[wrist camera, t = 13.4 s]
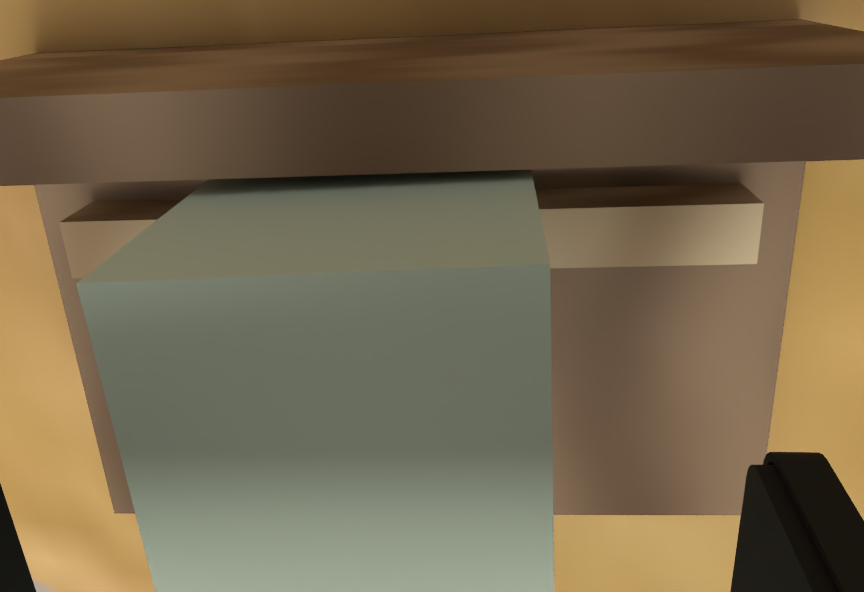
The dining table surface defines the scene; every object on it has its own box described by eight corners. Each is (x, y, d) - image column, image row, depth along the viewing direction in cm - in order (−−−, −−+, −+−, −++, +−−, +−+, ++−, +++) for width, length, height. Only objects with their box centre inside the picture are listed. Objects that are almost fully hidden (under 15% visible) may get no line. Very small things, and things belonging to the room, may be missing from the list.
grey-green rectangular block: (518, 108, 20) (550, 263, 10) (526, 415, 23) (556, 768, 13) (281, 122, 20) (76, 283, 10) (323, 420, 24) (199, 763, 14)
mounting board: (800, 19, 20) (1001, 58, 12) (743, 485, 25) (857, 719, 18) (34, 53, 22) (-225, 107, 14) (133, 485, 27) (-12, 700, 19)
